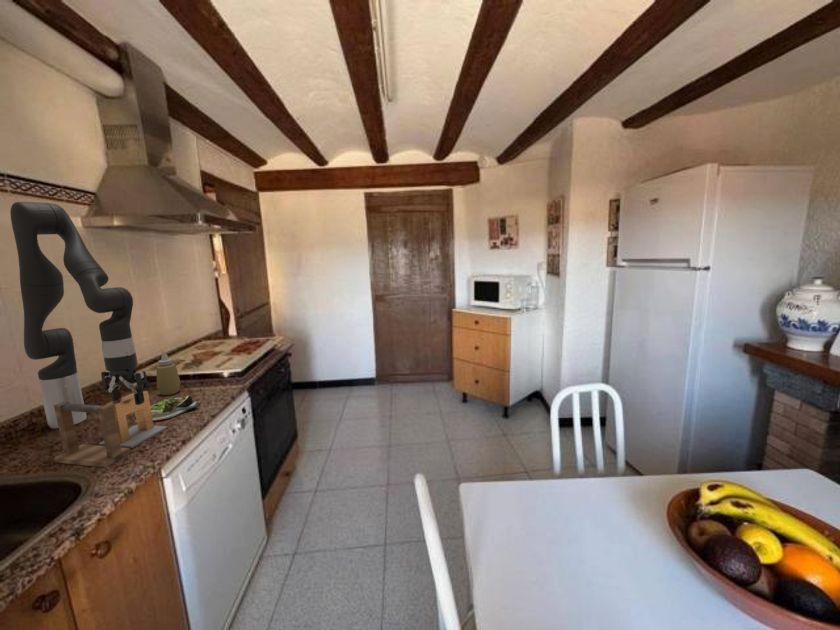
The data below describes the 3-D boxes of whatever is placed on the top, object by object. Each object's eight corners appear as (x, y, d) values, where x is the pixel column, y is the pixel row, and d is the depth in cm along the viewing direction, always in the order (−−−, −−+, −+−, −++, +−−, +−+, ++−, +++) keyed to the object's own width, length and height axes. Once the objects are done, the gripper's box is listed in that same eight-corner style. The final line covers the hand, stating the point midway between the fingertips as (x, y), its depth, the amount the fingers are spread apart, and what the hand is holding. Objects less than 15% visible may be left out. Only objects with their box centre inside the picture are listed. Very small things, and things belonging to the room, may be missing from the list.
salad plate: (149, 430, 115) (147, 417, 115) (119, 421, 123) (117, 408, 122) (206, 406, 133) (204, 395, 132) (176, 400, 140) (175, 389, 139)
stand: (55, 462, 97) (43, 408, 95) (83, 448, 104) (72, 398, 102) (105, 467, 94) (94, 412, 92) (130, 453, 101) (121, 401, 98)
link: (112, 442, 106) (105, 404, 104) (144, 426, 116) (138, 390, 114) (122, 443, 106) (115, 404, 103) (153, 426, 116) (147, 391, 113)
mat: (99, 444, 106) (98, 443, 106) (137, 425, 118) (136, 424, 118) (132, 447, 104) (131, 445, 104) (167, 428, 116) (167, 426, 116)
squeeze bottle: (170, 397, 142) (163, 354, 139) (153, 396, 143) (146, 354, 140) (186, 389, 150) (180, 349, 147) (170, 389, 151) (163, 348, 148)
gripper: (87, 356, 104) (97, 407, 107) (126, 357, 101) (136, 409, 104) (113, 349, 111) (122, 397, 114) (150, 350, 109) (158, 399, 111)
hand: (128, 403), depth 109 cm, fingers open, 8 cm apart
